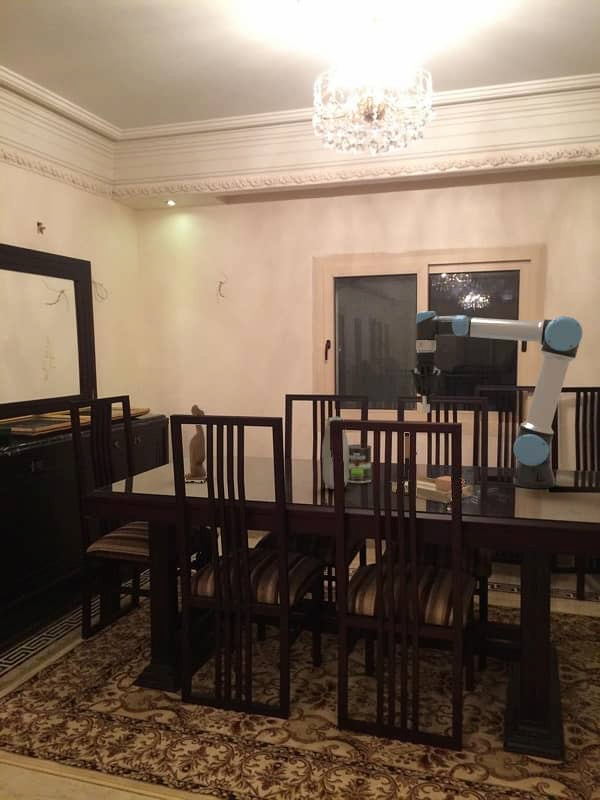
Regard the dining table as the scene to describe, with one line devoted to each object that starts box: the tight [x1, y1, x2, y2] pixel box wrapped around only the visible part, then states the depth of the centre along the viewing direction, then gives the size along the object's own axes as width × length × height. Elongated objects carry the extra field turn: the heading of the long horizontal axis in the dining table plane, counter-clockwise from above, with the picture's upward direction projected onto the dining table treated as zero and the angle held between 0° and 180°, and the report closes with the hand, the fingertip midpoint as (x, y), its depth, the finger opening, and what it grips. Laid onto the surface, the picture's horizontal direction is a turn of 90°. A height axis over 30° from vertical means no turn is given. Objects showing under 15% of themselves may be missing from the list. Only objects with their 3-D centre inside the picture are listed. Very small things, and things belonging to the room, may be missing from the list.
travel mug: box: [404, 433, 418, 479], centre depth 260 cm, size 8×8×20 cm
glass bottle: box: [321, 416, 349, 490], centre depth 241 cm, size 10×10×28 cm
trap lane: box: [391, 475, 474, 504], centre depth 232 cm, size 16×26×4 cm, turn 41°
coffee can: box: [348, 444, 372, 484], centre depth 255 cm, size 10×10×14 cm
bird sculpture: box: [184, 404, 207, 481], centre depth 261 cm, size 11×12×32 cm
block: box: [435, 475, 465, 492], centre depth 228 cm, size 6×8×4 cm
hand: (426, 412), depth 244 cm, fingers closed
